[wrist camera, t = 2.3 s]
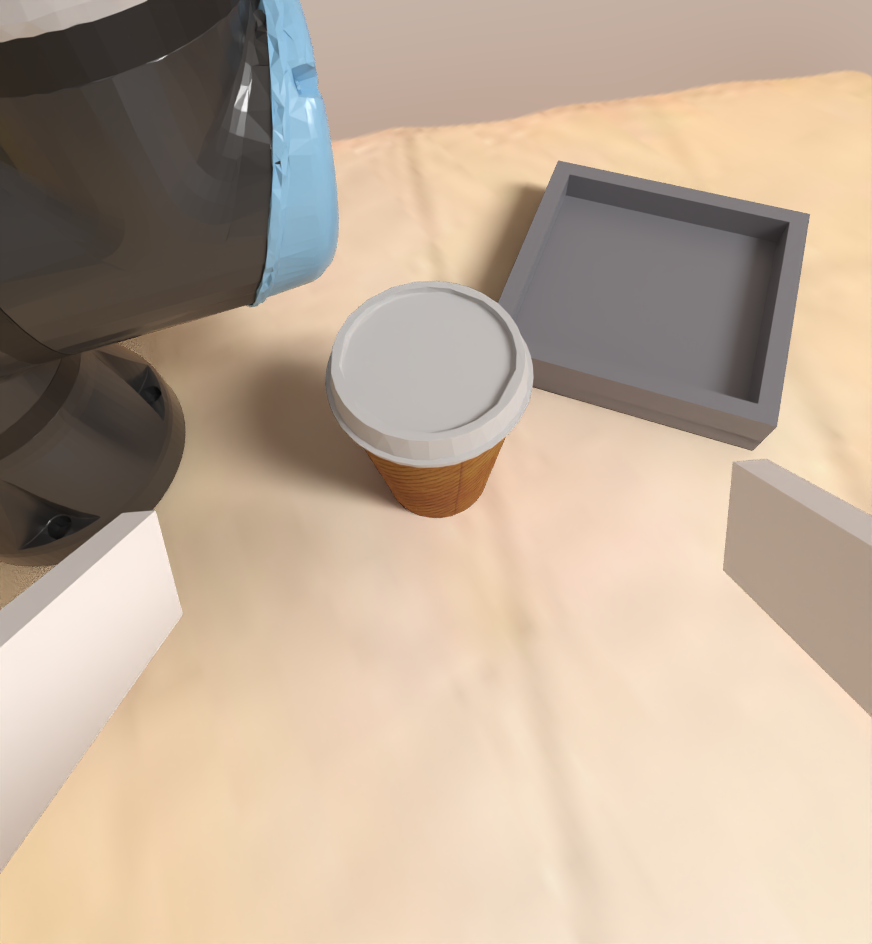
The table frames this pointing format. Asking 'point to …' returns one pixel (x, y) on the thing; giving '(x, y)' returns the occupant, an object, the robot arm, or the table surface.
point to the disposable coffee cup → (430, 390)
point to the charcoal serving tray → (659, 301)
